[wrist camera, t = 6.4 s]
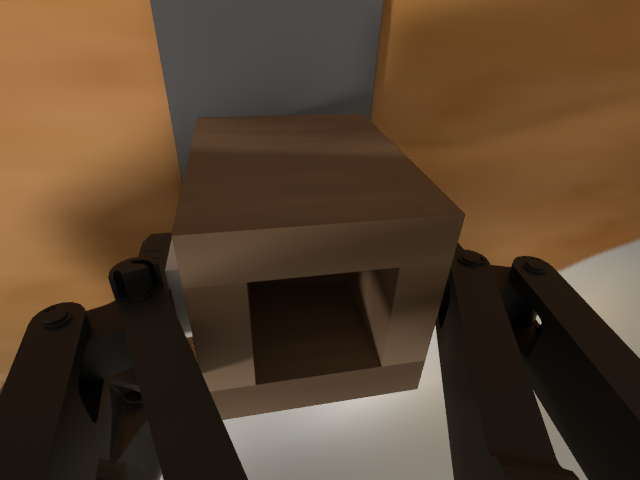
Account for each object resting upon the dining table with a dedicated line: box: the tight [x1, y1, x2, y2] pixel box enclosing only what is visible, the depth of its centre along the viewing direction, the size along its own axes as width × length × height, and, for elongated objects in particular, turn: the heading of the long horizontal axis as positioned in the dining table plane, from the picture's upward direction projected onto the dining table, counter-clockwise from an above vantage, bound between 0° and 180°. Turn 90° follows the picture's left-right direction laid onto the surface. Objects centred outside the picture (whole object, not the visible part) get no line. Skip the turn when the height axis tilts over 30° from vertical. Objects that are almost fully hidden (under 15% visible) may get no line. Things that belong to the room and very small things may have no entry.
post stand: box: [150, 0, 383, 183], centre depth 20 cm, size 16×12×12 cm
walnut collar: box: [172, 114, 465, 420], centre depth 15 cm, size 7×7×9 cm
